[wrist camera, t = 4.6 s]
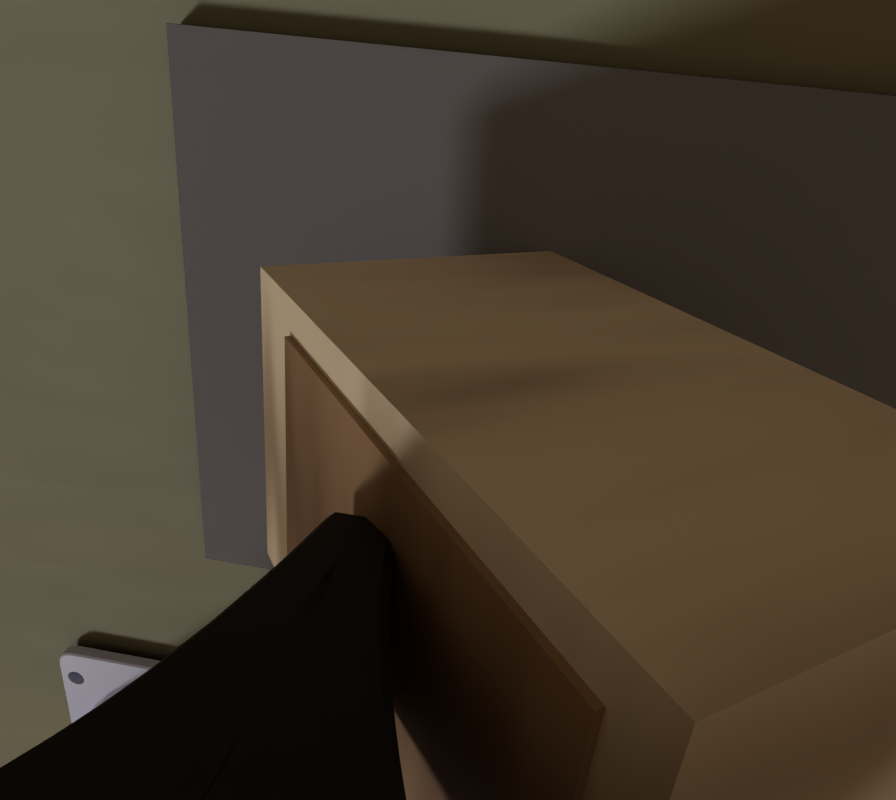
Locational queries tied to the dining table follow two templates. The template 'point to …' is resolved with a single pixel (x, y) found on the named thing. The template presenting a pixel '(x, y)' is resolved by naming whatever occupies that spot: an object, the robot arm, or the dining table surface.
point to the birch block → (593, 531)
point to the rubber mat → (517, 204)
